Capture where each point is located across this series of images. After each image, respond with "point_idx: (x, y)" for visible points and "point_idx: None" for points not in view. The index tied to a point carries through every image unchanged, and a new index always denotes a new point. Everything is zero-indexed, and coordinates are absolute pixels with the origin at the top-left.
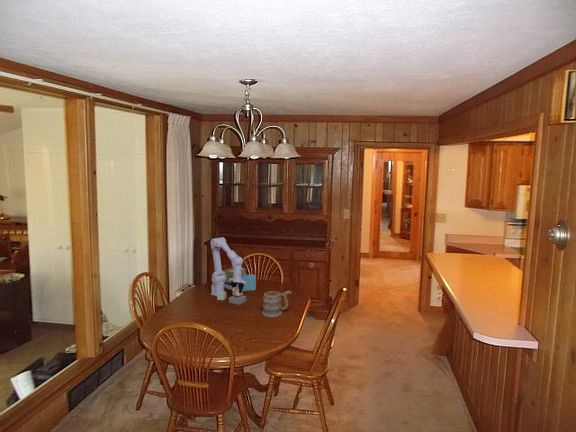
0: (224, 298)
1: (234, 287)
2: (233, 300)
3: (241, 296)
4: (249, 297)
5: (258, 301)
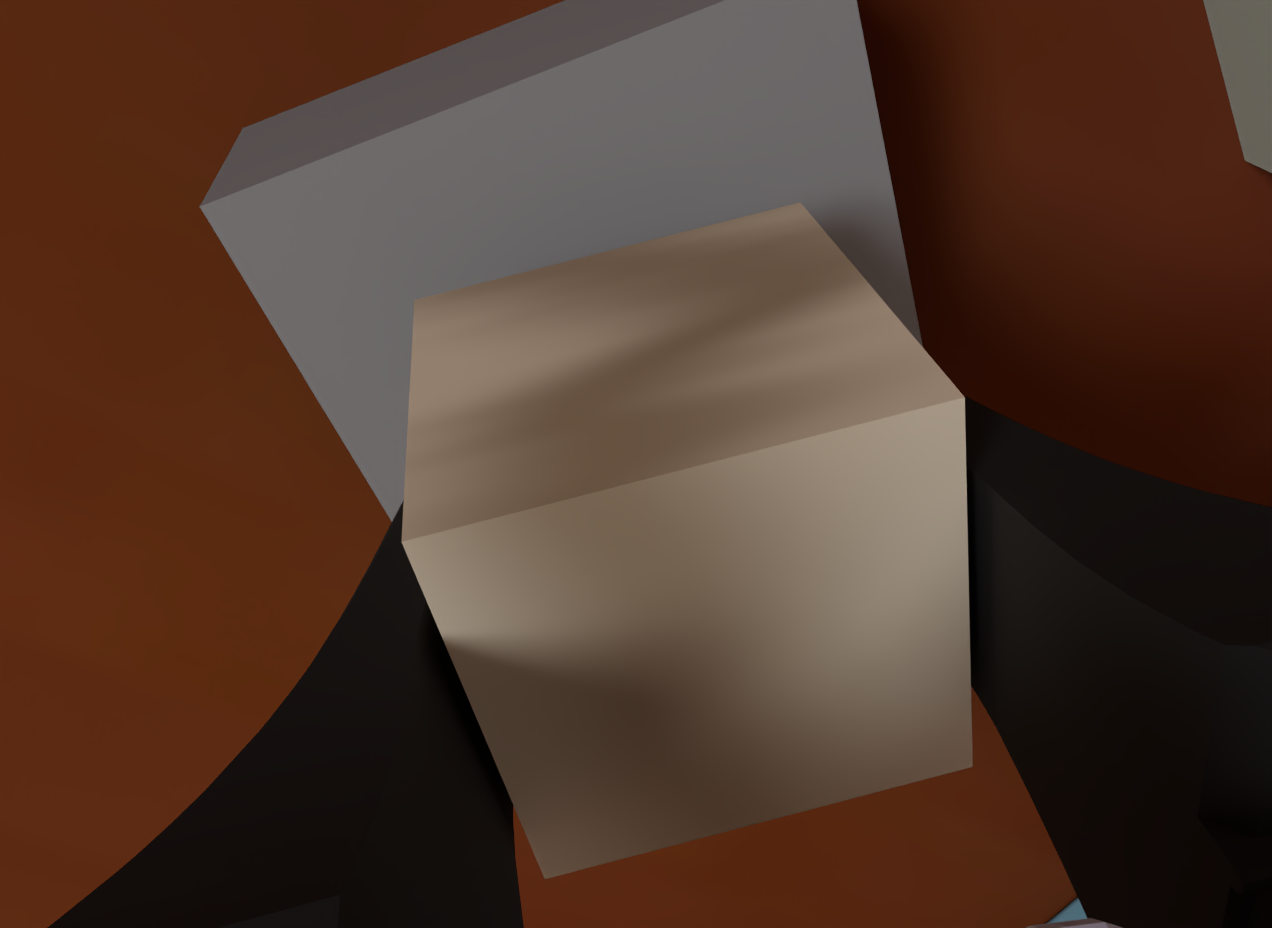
0: (1232, 21)
1: (960, 571)
2: (544, 41)
3: None
4: None
5: (187, 761)
